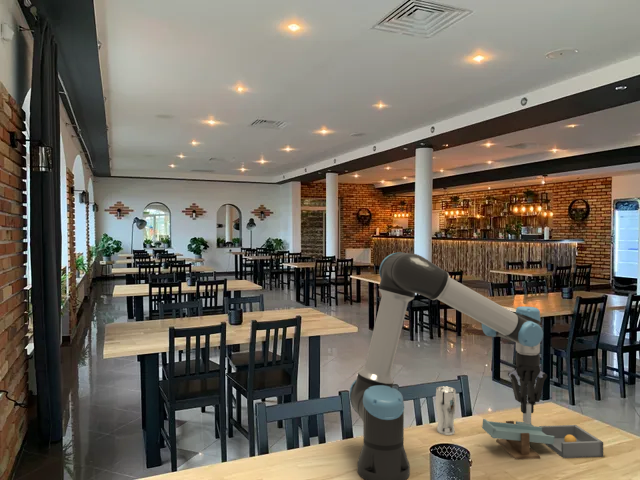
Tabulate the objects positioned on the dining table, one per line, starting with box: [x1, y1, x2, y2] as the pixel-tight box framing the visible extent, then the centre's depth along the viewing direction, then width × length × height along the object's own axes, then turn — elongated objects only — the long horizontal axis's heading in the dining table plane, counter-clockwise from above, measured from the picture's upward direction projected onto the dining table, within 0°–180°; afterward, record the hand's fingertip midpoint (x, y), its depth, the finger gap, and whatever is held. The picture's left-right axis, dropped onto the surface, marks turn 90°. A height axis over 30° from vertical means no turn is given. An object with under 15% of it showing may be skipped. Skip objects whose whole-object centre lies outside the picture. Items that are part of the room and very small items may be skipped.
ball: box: [564, 435, 576, 442], centre depth 156 cm, size 4×4×4 cm
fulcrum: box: [495, 420, 541, 460], centre depth 154 cm, size 8×13×7 cm, turn 4°
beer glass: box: [435, 385, 457, 436], centre depth 169 cm, size 7×7×15 cm
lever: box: [481, 418, 554, 445], centre depth 158 cm, size 20×15×3 cm
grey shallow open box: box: [538, 424, 604, 459], centre depth 156 cm, size 13×14×4 cm
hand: (527, 422), depth 162 cm, fingers closed
